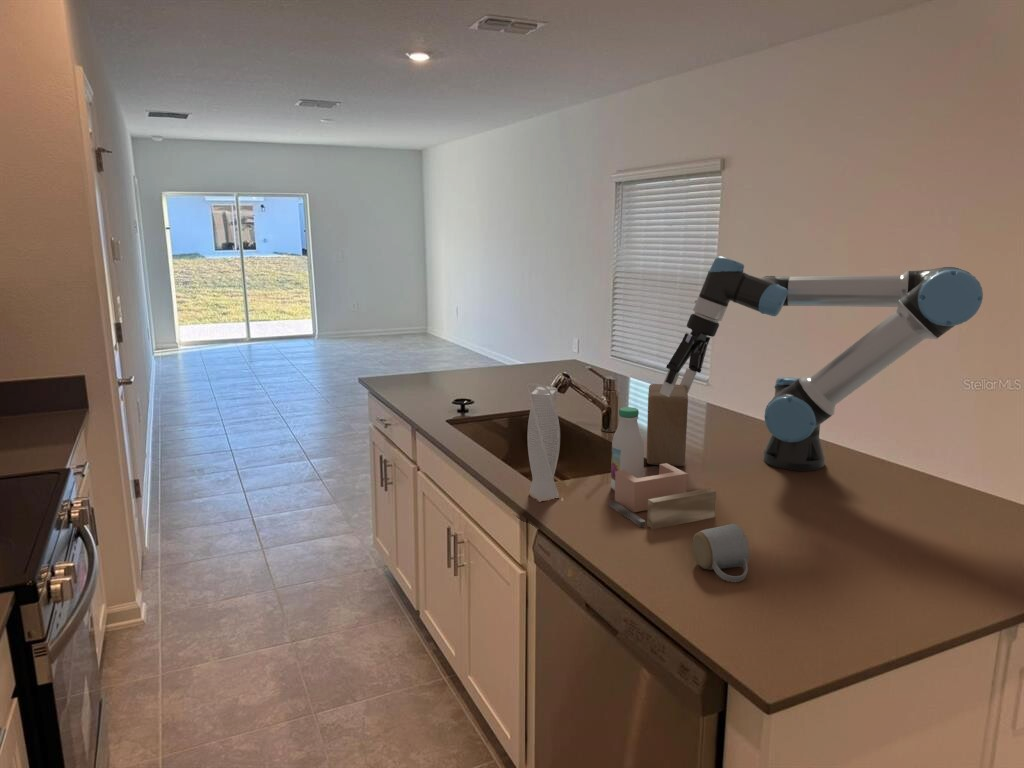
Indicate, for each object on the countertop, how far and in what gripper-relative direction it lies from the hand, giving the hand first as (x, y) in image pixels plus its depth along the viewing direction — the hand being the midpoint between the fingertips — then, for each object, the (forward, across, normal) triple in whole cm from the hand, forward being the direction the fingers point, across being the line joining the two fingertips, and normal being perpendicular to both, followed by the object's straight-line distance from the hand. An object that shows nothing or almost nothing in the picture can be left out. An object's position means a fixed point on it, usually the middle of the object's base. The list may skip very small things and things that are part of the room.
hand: (673, 393), depth 181 cm
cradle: (+21, +24, +12) cm, 34 cm away
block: (+18, -6, +3) cm, 19 cm away
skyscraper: (+29, +34, -9) cm, 46 cm away
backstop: (+20, +27, +16) cm, 37 cm away
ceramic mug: (+17, +47, +36) cm, 62 cm away
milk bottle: (+23, +18, +4) cm, 30 cm away
